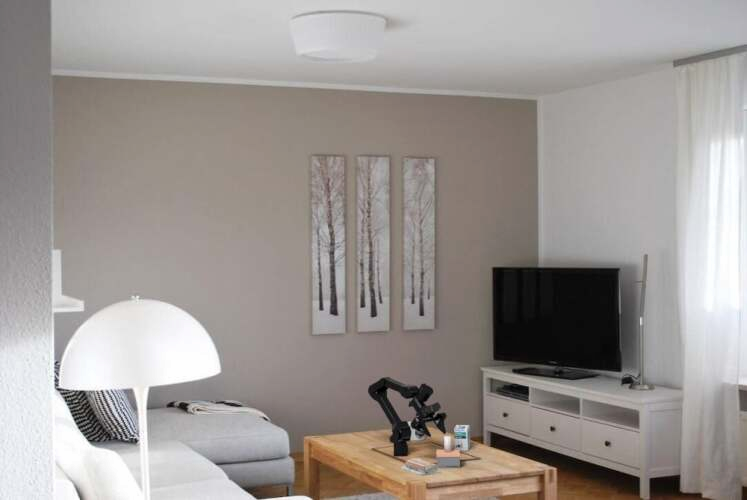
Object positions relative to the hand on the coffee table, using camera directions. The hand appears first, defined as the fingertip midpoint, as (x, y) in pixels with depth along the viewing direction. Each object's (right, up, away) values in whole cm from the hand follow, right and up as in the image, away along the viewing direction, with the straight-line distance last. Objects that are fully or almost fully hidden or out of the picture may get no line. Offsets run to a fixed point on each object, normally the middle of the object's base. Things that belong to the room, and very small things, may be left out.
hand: (438, 435), depth 448 cm
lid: (+4, -9, -5) cm, 11 cm away
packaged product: (-8, -14, -13) cm, 21 cm away
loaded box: (+4, -13, -5) cm, 14 cm away
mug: (-9, -13, +57) cm, 59 cm away
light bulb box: (+14, -13, +31) cm, 37 cm away
